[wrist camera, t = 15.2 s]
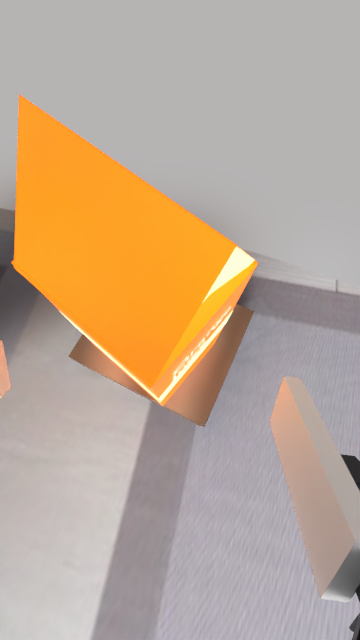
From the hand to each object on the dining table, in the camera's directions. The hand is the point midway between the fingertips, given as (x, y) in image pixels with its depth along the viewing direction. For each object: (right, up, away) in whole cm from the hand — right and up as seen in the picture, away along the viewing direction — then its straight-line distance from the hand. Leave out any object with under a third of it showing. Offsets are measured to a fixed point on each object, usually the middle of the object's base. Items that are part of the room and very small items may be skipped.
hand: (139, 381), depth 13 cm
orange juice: (-1, +1, +14) cm, 14 cm away
